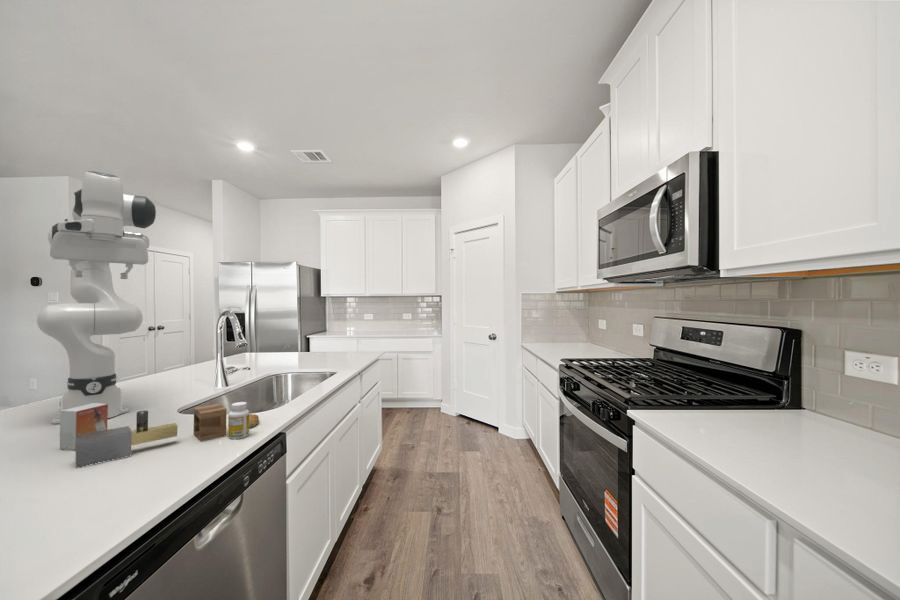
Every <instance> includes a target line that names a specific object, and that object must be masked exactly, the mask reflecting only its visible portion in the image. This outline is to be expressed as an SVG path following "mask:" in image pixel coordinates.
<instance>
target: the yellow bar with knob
mask: <svg viewBox="0 0 900 600" xmlns="http://www.w3.org/2000/svg"><path fill="white" fill-rule="evenodd" d="M131 431H132V437H131V447H132V446H137V445H141V444H146V443H151V442H154V441H155V442H156V441H160V440H163V439H164V440H165V439H169V438H174V437H178V424H177V423H176V422H173V423H167V424H162V425H155V426H149V410H140V411H137V412H136V430H135V429H134V430H131Z"/></svg>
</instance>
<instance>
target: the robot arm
mask: <svg viewBox="0 0 900 600" xmlns="http://www.w3.org/2000/svg"><path fill="white" fill-rule="evenodd" d="M82 180H83V181H82V185H81V188H80V189H79V190H77V191H74V192H73V195H74V205H73V207H72V211H71V215H72V219H73V220H68V218H65V219H64V221H60V222H57V223H56V224H54V225H53V226H51V228H50V229H49V231H48V234H47V240H48V242H49V246H50V251H49V256H50V257H51V258H52V259H54V260H61V261H68V265H69V266H70V268H71V269H70V285H69V286H70V295H71V297H72V298H73V300H74V301H76V302H65V303H56V304H50V305H46V306H45V307H43V308H42V309H41V310H40V311H39V313H38V315H37V318H36V323H37V326H38V328H39V329H40V331H41V332H42V333H44V334H45V335H46V336H49V337H51V338H53V339H55V340H56V341H58V342H59V343H60V344H61V345H62V346H63V348H64V349H65V351H66V353H67V356H68V362H69V364H68V365H69V377H68V378H67V382H66V385H67V389H68V390H67V391H66V392H65V393H64V394H63V395H62V396H61V398H60V399H59V407H60V408H59V412H60V411H61V410H65V409H70V408H74V407H79V406H83V405H87V404H90V403H101V404H108V419H110V418H113V417H116V416H119V415H121V414H125V413H128V412H129V408H128V407H125V406H123V394H122V393H123V392H122V389H121V388H120V387H118V386H117V385H116V384H117V380H118V379H117V378H118V377H117V374H116V373H115V367H116V366H115V365H116V364H115V361H116V360H115V358H116V355H115V352H114V350H112V349H111V348H110V347H107V346H104V345H102V344H99V343H95V342H93V341H92V340H91V337H93V336H100V335H101V336H104V335H105V336H106V335H107V336H108V335H121V334H127V333H133V332H136V331H137V330H138V329H140V327H141V325H142V323H143V319H144V318H143V313H142V311H141V309H140V308H139V307H138V306H137V305H135V304H131V303H129V302H126V301H125V300H124V299H122V298H120V297H119V296H118V295H117V294H116V293H115V289H114V285H113V276H112V272H111V267H110V264H124V265H125V268H127V269H126V270H125V271H124V272H120V273H119V275H120V279H119V280H128V279H129V278H128V277H129V273H130V272H131V271H132V269H133V268H134V265H138V266H139V265H141V266H142V265H143V266H144V265H147V264H148V263H149V252H148V249H149V247H150V238H149V237H148V236H146V235H144V234H143V233H134V232H130V231H125V230H124V227H126V226H127V227H134V228H140V229H146V228H148V227H151V226H153V224H154V222H155V220H156V216H157V209H156V206H155V203H153V201H152V200H150V199H149V198H148V197H146V196H144V195H143V196H142V195H133V194H132V195H131V194H127V193H124V189H123V183H122V179H121V178H120V177H119V176H117V175H114V174H110V173H104V172H99V171H86V172H85V173H84V175H83V179H82ZM51 424H53V425H54V424H60V413H58V414H57V415H56V416H55V417H54V418H53V419H52V420H51Z"/></svg>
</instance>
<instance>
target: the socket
mask: <svg viewBox="0 0 900 600" xmlns="http://www.w3.org/2000/svg"><path fill="white" fill-rule="evenodd" d="M193 436H195V438H197V440H198V441H199V442H204V441H209V440H214V439H218V438H222V437H226V436H227V408H226V407H224V405H221V403H214V404H213V403H212V404H208V405H202V406H197V407H193Z"/></svg>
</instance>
